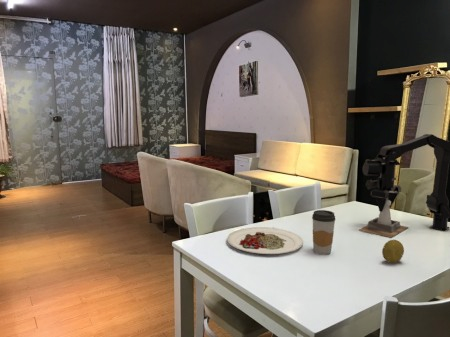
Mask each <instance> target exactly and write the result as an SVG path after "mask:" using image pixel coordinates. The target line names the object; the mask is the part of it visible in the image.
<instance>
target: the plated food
mask: <svg viewBox="0 0 450 337" xmlns="http://www.w3.org/2000/svg"><path fill="white" fill-rule="evenodd" d="M226 241H227V243H228V244H229V245H230V246H232V247H233V248H235V249H237V250H240V251H244V252H246V253H253V254H259V255H260V254H261V255H278V254H286V253H291V252H294V251H297V250H299V249H300V248H301V247H303V244H304V240H303V238H302V237H301V235H299V234H297V233H295V232H292V231H289V230H287V229H283V228H276V227H275V228H274V227H265V226H264V227H260V226H258V227H257V226H256V227H254V226H253V227H246V228H241V229H236V230H234V231H232V232H230V233H229V234H228V236H227V238H226Z"/></svg>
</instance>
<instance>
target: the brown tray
mask: <svg viewBox="0 0 450 337" xmlns="http://www.w3.org/2000/svg"><path fill="white" fill-rule="evenodd" d="M378 218H379V216H378V217H376V218H374V219H370V220H369V221H367V222H368V224H366V225H365V226H363V227H361V228H359V229H358V231H359V232H363V233H367V234H372V235H375V236H379V237H384V238H388V239H392V238H394V237H395V236H398V235H399V234H400V233H402V232H404V231H406V230H407V229H409V227H408V226H405V225H401V222H400V221H398V220H392V219H391V225H390V226H389V225H385V224H380V223H377V221H378Z"/></svg>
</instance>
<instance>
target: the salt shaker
mask: <svg viewBox="0 0 450 337" xmlns="http://www.w3.org/2000/svg"><path fill="white" fill-rule="evenodd" d="M390 205H391V201H390V200H387V202H386V204H385V207H384V209H383V211H382V212H380V211H379V214H378V217H379V218H378V221H377V223H380V224H385V225H389V226H390V225H391V220H392V219H391V218H392V216H391V208H390V207H389V206H390Z"/></svg>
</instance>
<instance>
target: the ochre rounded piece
mask: <svg viewBox="0 0 450 337" xmlns="http://www.w3.org/2000/svg"><path fill="white" fill-rule="evenodd" d="M381 253H382V257H383V259H384V260H385V261H386V262H388V263H392V264H395V263H398V262H399V261H400V260H402V258H403V257H404V253H405V247H404V245H403V243H402V242H401V241H400V240H396V239H389V240H387V242H385V243H384V244H383V247H382V252H381Z"/></svg>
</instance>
